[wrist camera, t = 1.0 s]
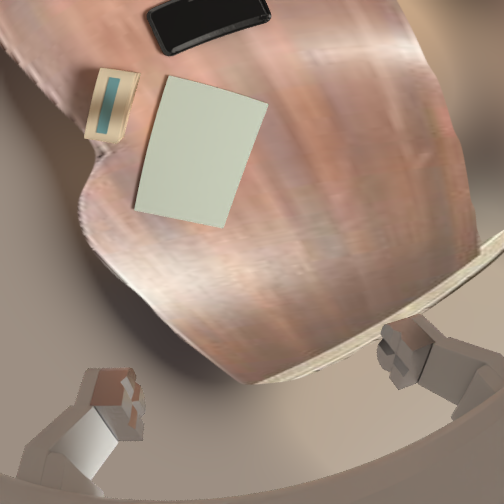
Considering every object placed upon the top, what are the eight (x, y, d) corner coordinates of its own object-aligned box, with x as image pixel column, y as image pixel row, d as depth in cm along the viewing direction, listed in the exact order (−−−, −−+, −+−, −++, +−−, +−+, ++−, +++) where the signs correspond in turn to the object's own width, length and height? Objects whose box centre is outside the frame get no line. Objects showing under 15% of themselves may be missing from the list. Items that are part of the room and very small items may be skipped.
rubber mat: (169, 75, 33) (169, 75, 32) (267, 103, 38) (268, 104, 37) (134, 208, 42) (134, 210, 42) (222, 226, 47) (223, 228, 46)
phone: (273, 20, 30) (165, 58, 31) (271, 21, 31) (166, 59, 32) (253, -26, 26) (143, 11, 26) (251, -24, 27) (144, 13, 27)
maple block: (110, 68, 30) (99, 67, 26) (141, 73, 32) (134, 72, 28) (94, 130, 34) (83, 138, 30) (124, 136, 36) (116, 144, 32)
